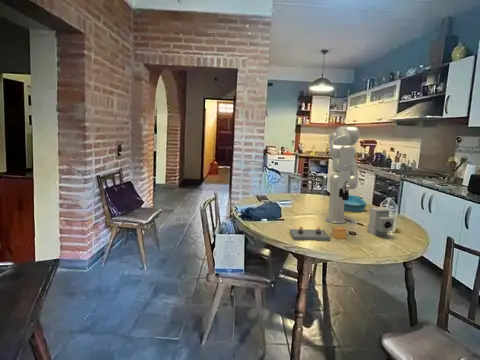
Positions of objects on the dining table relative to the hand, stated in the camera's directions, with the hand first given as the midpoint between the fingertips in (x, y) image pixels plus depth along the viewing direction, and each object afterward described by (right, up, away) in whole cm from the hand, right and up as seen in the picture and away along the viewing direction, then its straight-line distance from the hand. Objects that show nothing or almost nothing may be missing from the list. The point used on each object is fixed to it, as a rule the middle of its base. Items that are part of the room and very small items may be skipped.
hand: (343, 198), depth 195 cm
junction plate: (-19, -21, +1) cm, 29 cm away
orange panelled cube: (-2, -22, +3) cm, 22 cm away
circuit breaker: (+24, -22, +9) cm, 34 cm away
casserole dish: (+26, -11, +77) cm, 82 cm away
